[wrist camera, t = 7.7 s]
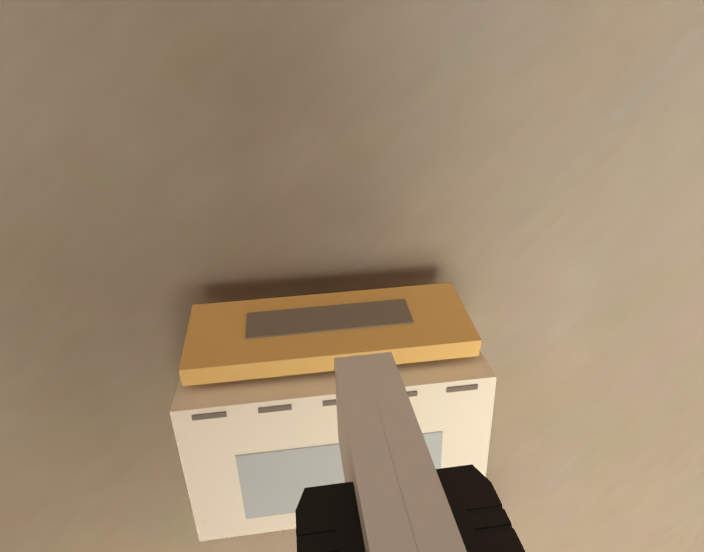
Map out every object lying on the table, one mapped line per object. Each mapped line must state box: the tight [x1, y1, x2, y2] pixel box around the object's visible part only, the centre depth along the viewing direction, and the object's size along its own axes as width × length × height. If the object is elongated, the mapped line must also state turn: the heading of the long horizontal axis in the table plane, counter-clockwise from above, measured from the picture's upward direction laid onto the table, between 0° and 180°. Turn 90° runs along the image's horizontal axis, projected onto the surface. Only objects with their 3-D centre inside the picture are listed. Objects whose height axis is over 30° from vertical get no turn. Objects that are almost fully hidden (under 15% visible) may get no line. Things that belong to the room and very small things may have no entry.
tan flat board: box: [178, 283, 482, 386], centre depth 31 cm, size 17×6×1 cm
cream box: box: [170, 352, 497, 541], centre depth 34 cm, size 18×10×10 cm, turn 92°
